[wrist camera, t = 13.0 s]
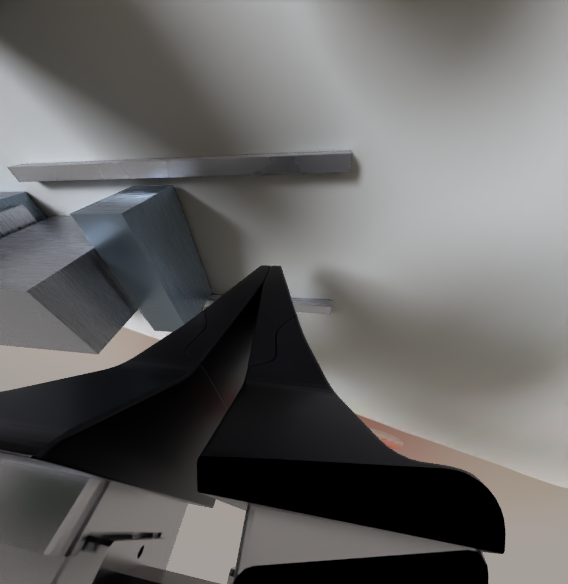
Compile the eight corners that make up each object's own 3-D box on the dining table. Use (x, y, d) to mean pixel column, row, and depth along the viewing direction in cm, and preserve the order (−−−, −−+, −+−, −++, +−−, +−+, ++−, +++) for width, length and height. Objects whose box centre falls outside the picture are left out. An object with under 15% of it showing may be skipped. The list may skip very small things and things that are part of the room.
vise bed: (350, 150, 8) (365, 173, 5) (330, 307, 14) (332, 355, 11) (-30, 166, 10) (-147, 187, 8) (85, 294, 16) (40, 331, 13)
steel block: (55, 215, 12) (-107, 284, 7) (145, 214, 11) (26, 291, 7) (96, 267, 14) (-9, 344, 10) (172, 270, 13) (98, 354, 9)
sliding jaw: (172, 185, 10) (121, 213, 7) (224, 324, 16) (207, 365, 13) (126, 186, 10) (62, 213, 7) (195, 322, 16) (173, 362, 14)
